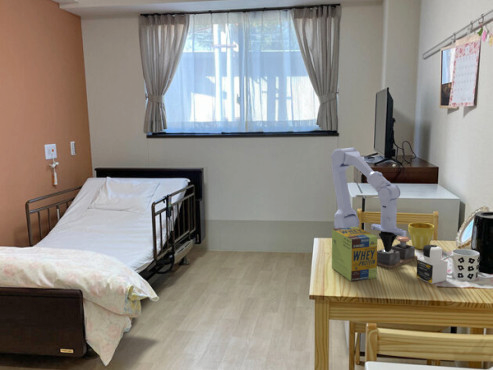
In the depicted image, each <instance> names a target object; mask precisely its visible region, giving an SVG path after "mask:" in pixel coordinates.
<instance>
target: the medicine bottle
mask: <svg viewBox="0 0 493 370" xmlns="http://www.w3.org/2000/svg"><path fill="white" fill-rule="evenodd" d="M416 278H417V279H419V280H422V281H424V282H426V283H429V284H431V285H434V284H438V283H441V282H446V281H447V280H448V261H447V260H445V259H443V247H441V246H439V245H436V244H430V245H426V246H424V247H423V249H422V257H419V258H418V257H417V259H416Z"/></svg>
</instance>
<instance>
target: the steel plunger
mask: <svg viewBox="0 0 493 370" xmlns="http://www.w3.org/2000/svg"><path fill="white" fill-rule="evenodd" d="M381 249H382V253H385V254H389V255H390V254H393V253H394V251H393V250H391V251H388V252H387V251H385V249H384V248H381Z"/></svg>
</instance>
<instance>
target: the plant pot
mask: <svg viewBox="0 0 493 370" xmlns="http://www.w3.org/2000/svg"><path fill="white" fill-rule="evenodd" d="M407 226H408V227H407V230H408V232H407V233H408V234H409V235H410V240H411V246H414V247H415V250H417V249H418V250H423V247H424V246H426V245H431V242H432V237H433V236H434V234H435V225H434V224H432V223H428V222H421V221H420V222H416V221H415V222H410V223H409V224H408V225H407Z"/></svg>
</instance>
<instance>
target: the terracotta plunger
mask: <svg viewBox="0 0 493 370" xmlns="http://www.w3.org/2000/svg"><path fill="white" fill-rule="evenodd" d="M396 239H397V241H398V242H399V243H400V248H403V249H405V248H406V244H407V243H408V242H410V237H408V236H405V237H401V236H400V235H399V236H397V237H396Z"/></svg>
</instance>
